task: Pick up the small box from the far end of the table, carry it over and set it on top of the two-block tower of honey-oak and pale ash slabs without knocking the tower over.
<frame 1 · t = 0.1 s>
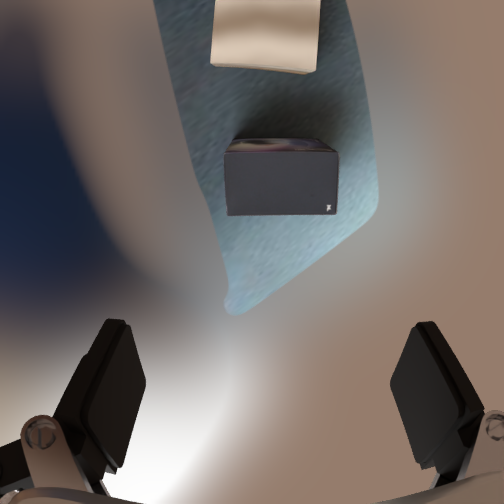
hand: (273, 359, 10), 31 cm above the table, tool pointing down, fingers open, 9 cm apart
small box: (276, 161, 38), on the table
ash slab: (265, 25, 27), point 3 cm above the table
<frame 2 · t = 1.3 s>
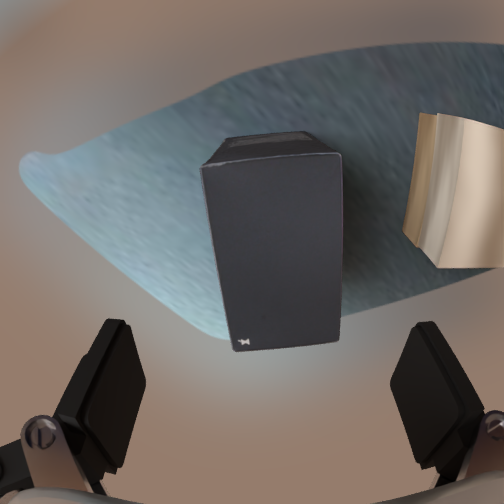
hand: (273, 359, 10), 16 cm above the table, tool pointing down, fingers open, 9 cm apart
small box: (273, 200, 24), on the table
oak slab: (457, 179, 23), on the table, touching ash slab
ash slab: (480, 188, 20), point 3 cm above the table, touching oak slab
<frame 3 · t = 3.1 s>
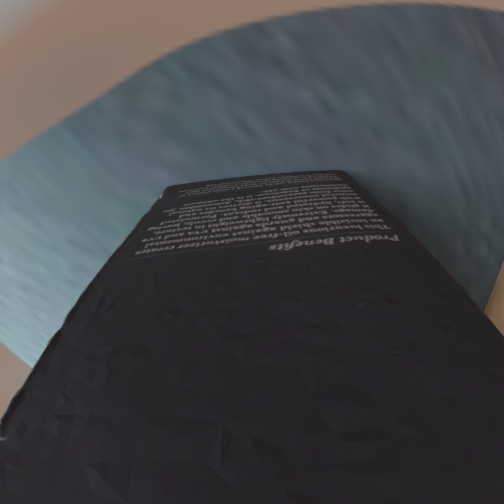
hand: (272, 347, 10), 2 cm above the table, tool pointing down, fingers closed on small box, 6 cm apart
small box: (269, 303, 13), on the table, touching gripper
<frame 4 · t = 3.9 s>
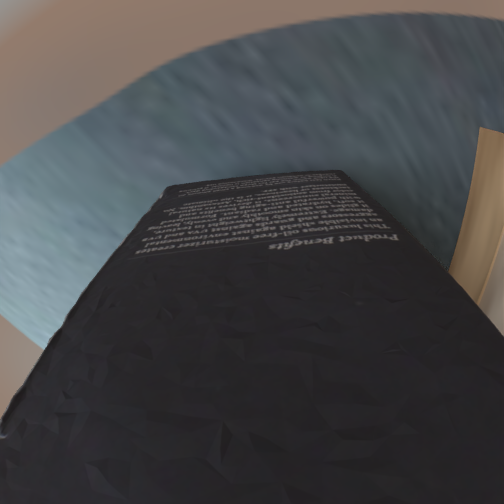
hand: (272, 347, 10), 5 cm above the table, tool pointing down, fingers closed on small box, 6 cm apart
small box: (269, 303, 13), point 2 cm above the table, touching gripper
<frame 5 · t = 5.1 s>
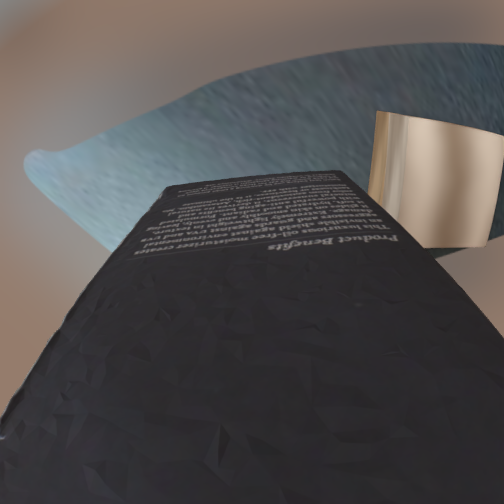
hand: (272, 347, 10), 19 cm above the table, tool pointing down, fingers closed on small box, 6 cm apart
small box: (269, 303, 13), point 17 cm above the table, touching gripper
oak slab: (416, 170, 27), on the table
ash slab: (435, 177, 24), point 3 cm above the table
when the fingers open (11 cm above the table, at t = 8.5 s): small box drops 2 cm, resting on ash slab.
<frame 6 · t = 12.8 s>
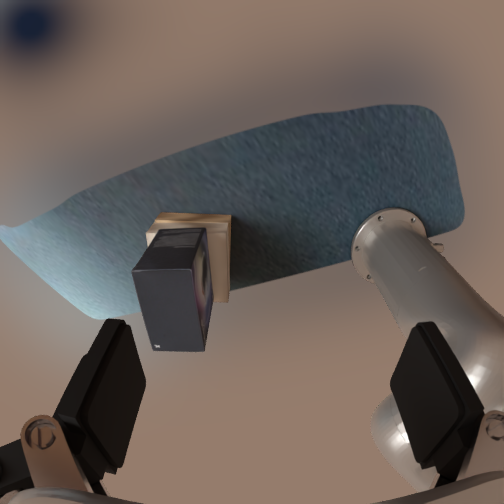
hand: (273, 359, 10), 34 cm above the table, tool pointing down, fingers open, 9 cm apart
small box: (188, 264, 41), point 6 cm above the table, touching ash slab
oak slab: (196, 244, 47), on the table, touching ash slab
ash slab: (192, 256, 44), point 3 cm above the table, touching oak slab, small box
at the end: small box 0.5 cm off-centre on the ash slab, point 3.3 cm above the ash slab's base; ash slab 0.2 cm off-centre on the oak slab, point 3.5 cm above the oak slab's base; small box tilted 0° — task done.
